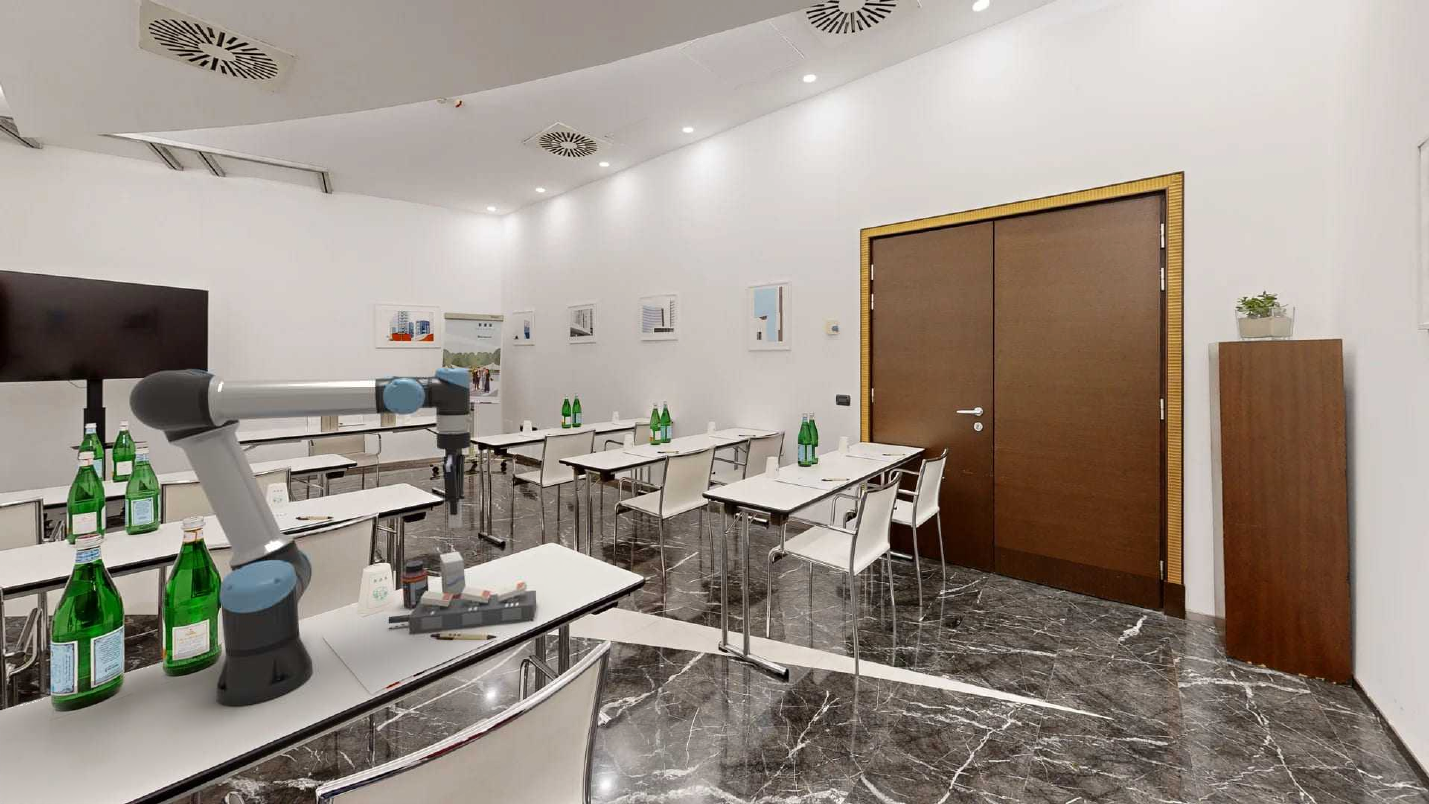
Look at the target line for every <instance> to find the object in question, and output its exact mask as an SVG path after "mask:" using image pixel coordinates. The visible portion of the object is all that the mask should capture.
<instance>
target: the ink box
mask: <svg viewBox="0 0 1429 804" xmlns="http://www.w3.org/2000/svg"><path fill="white" fill-rule="evenodd" d="M439 559H440V577H441V578H440V579H441V591H442V592H441V593H446V594H453V596H452V599H454V598H461V594H462V592H463V590H464V588H465V587H467V586H466V576H465V575H466V574H465V565H464V564H465V563H464V559H463V557H462V556H461V553H460V552H459V551H454V552H447V553H441V554H439Z"/></svg>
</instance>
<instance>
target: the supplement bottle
mask: <svg viewBox="0 0 1429 804" xmlns="http://www.w3.org/2000/svg"><path fill="white" fill-rule="evenodd" d="M428 574H429V573H428V569H426V568H424V562H423V561H422V560H414V561H408V562H407V563H406V564H405V571H404V572H403V573H402V576H401V577H402V578H401V580H402V597H403V598H402V599H403V600H402V601H403V607H404V608H406V609H411V610H412V609H413V610H414V609H415V607H416V606H417V604H418V603H419V602H420V600H421V597H422V595H423V594H424V592H425V591H429V575H428Z"/></svg>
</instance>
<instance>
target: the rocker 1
mask: <svg viewBox="0 0 1429 804" xmlns="http://www.w3.org/2000/svg"><path fill="white" fill-rule="evenodd" d="M452 596H453V594H446V593H442V592H438V591H429V590H428V591H425V592H424V594H423V595H422V597H421V600H420V603H423V604H431V605H432V606H433V607H434V606H435V605H439V606H449V604H450V602H451V600H452Z"/></svg>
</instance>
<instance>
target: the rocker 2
mask: <svg viewBox="0 0 1429 804" xmlns="http://www.w3.org/2000/svg"><path fill="white" fill-rule="evenodd" d="M490 595H492V591H490V590H485V589H480V588H475V587H470V586H466V587H465V588H464V590H463V592H462V594H461V599H466V600H472V602H473V603H474V602H475V601H477V602H483V603H488V600H489V598H490Z"/></svg>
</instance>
